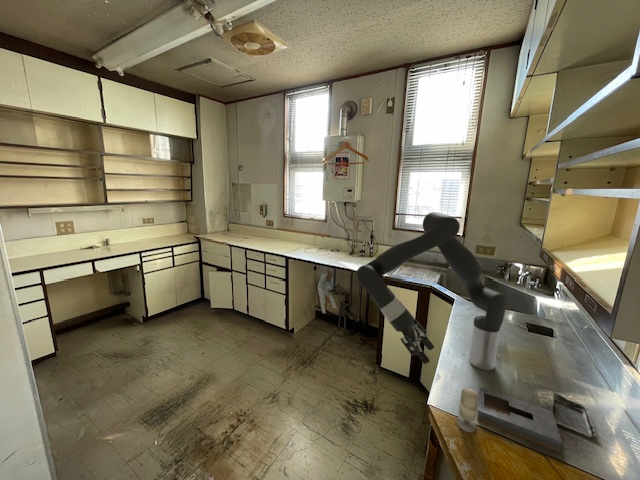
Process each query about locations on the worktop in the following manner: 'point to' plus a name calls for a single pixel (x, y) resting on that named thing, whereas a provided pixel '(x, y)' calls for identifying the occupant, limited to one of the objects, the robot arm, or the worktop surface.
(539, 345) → the worktop surface
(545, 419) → the keyhole board
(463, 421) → the keyhole peg
